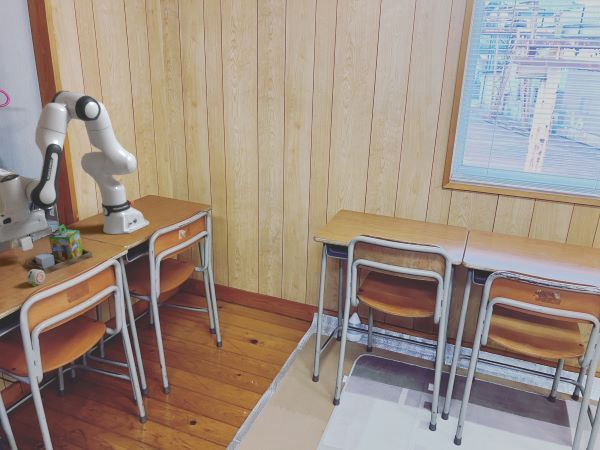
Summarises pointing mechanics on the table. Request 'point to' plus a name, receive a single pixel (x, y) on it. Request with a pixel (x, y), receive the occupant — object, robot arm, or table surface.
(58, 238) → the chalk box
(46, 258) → the slate cube
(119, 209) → the robot arm
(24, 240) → the eraser
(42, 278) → the roller toy
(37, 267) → the divider frame
